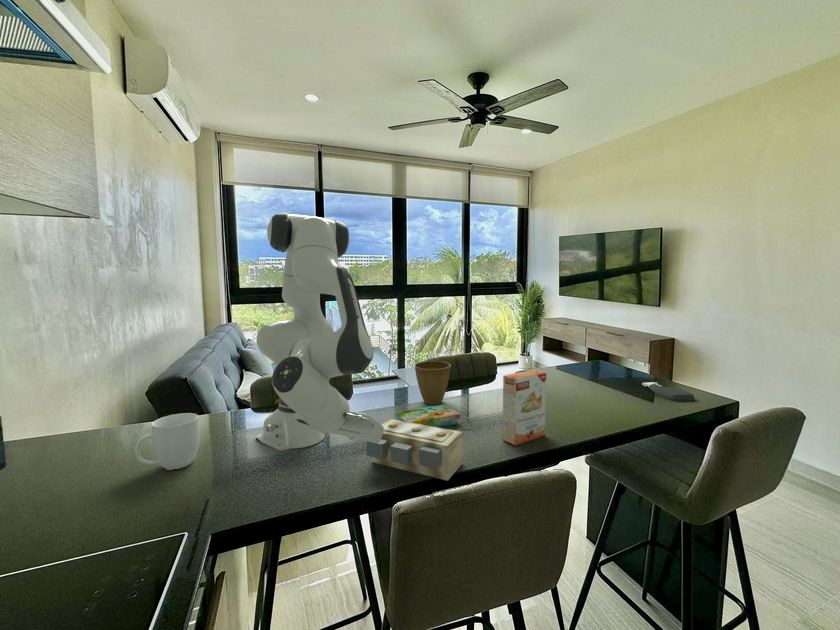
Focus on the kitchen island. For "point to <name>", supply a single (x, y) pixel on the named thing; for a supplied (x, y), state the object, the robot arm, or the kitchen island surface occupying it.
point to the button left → (377, 449)
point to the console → (418, 438)
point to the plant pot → (432, 380)
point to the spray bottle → (670, 392)
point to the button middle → (401, 453)
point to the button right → (430, 457)
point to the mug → (173, 440)
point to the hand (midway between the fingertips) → (357, 438)
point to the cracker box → (524, 406)
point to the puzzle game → (430, 416)
